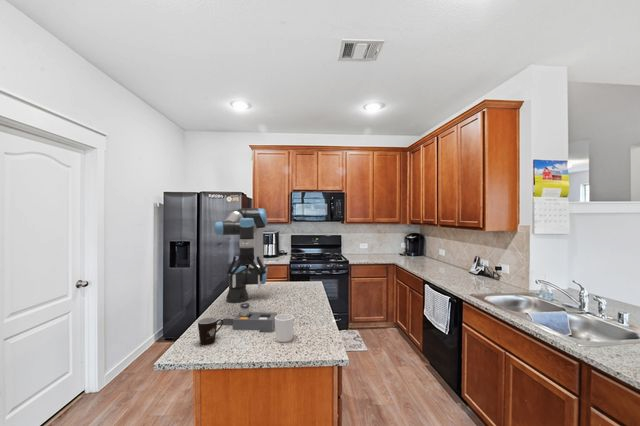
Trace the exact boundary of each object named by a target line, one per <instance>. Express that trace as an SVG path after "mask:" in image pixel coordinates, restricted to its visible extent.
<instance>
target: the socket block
mask: <svg viewBox="0 0 640 426" xmlns="http://www.w3.org/2000/svg"><path fill="white" fill-rule="evenodd" d="M277 315H278V312H274V311H273V312H267V311H266V312H262V311H261V312H260V311H259V312H256V311H254V312H253V311H252V312H251V311H249V318H248V317H241V311H240V312H239V313H238V314H237V315H236V316H235V317H234V318H232V319H233V325H232V330H233V331H259V333H273V332H274V331H275V316H277Z"/></svg>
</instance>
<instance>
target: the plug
mask: <svg viewBox="0 0 640 426" xmlns="http://www.w3.org/2000/svg"><path fill="white" fill-rule="evenodd" d="M240 312H241V317H248V318H249V312H250V303H247V302H246V303H244V302H243V303H241V304H240Z"/></svg>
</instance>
